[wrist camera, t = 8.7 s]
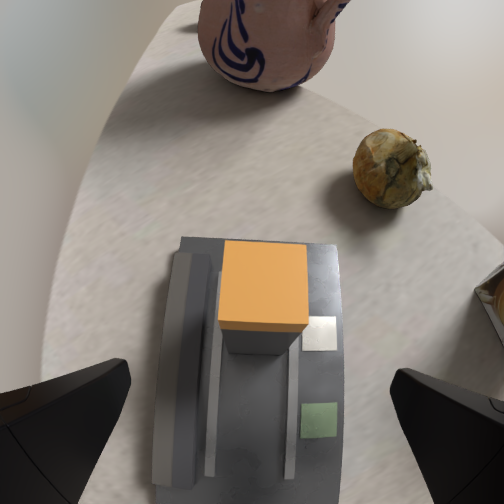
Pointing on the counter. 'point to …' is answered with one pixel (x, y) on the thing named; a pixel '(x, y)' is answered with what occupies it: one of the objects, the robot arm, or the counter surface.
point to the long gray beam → (180, 372)
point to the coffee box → (494, 298)
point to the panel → (270, 401)
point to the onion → (391, 169)
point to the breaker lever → (263, 296)
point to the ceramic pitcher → (268, 40)
